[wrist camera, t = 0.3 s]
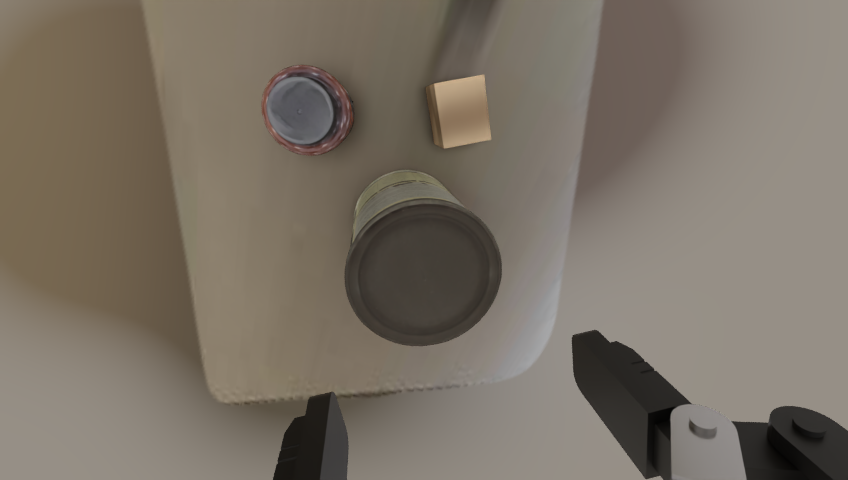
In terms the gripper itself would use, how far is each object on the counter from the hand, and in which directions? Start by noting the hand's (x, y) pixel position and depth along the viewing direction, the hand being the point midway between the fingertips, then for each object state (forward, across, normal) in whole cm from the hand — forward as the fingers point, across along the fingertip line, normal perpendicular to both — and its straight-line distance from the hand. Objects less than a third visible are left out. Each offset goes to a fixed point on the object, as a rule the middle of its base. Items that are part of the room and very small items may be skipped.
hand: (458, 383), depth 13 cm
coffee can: (+27, 0, +2) cm, 27 cm away
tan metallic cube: (+27, -6, -7) cm, 28 cm away
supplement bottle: (+27, +5, -9) cm, 29 cm away
